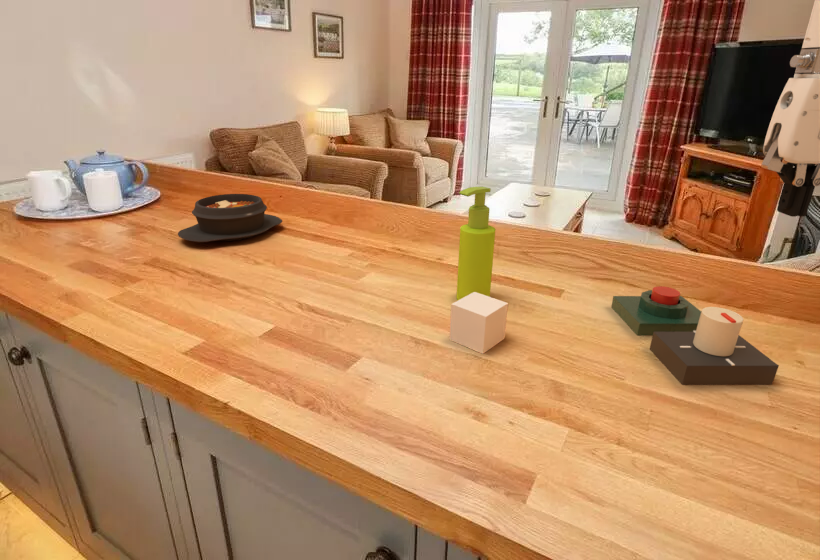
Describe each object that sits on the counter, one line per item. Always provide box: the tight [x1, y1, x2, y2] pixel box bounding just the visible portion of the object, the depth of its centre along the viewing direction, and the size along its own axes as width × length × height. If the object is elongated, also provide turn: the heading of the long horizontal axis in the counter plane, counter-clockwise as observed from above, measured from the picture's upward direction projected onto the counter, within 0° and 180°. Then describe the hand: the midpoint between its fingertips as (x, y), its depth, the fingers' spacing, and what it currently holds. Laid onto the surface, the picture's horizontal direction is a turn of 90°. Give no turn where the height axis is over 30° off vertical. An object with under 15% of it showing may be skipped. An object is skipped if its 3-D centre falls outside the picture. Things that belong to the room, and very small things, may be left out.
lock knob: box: [693, 306, 744, 356], centre depth 66 cm, size 5×5×5 cm
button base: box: [610, 289, 702, 337], centre depth 80 cm, size 12×10×4 cm
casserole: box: [177, 193, 283, 243], centre depth 118 cm, size 25×19×8 cm
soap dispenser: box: [456, 186, 496, 301], centre depth 83 cm, size 6×7×20 cm
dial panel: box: [649, 331, 779, 386], centre depth 68 cm, size 12×9×3 cm
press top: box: [651, 285, 681, 305], centre depth 79 cm, size 4×4×2 cm
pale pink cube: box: [449, 292, 509, 355], centre depth 73 cm, size 6×6×6 cm
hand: (790, 213), depth 66 cm, fingers closed
